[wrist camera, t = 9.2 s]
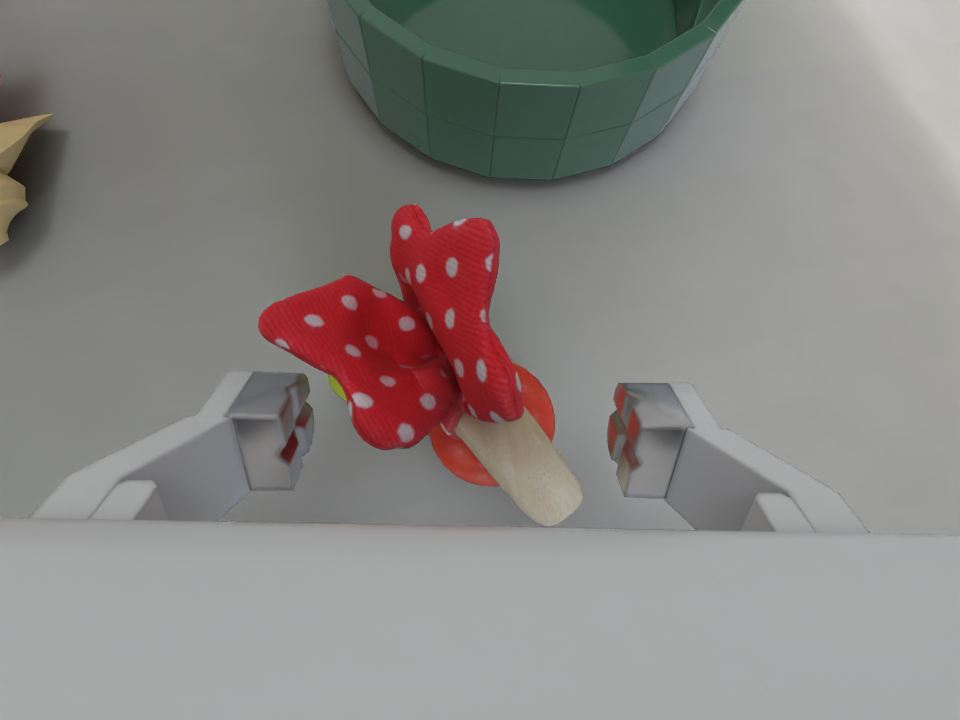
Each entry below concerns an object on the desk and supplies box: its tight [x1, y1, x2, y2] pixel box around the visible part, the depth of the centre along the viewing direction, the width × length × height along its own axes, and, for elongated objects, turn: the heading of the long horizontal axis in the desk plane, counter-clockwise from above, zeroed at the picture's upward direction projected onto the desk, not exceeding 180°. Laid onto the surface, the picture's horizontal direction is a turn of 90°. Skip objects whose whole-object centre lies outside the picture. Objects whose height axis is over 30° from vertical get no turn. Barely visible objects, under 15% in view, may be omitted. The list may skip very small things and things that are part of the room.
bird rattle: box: [258, 204, 583, 526], centre depth 14 cm, size 6×11×9 cm
